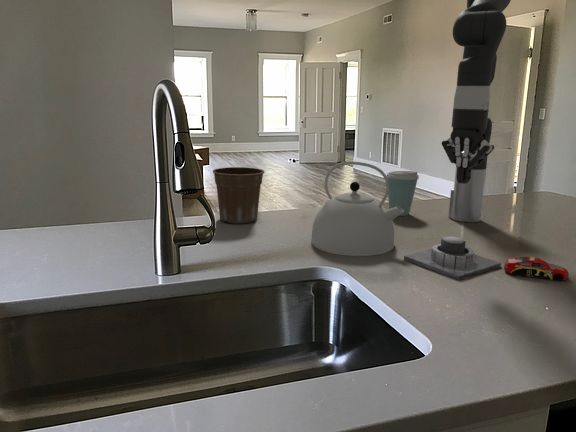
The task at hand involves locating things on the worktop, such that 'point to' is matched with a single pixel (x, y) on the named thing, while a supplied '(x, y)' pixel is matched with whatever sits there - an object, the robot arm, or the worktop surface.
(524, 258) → the race car
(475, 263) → the square plate with hole
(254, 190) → the plant pot
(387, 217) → the kettle
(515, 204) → the worktop surface
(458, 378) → the worktop surface
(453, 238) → the cylindrical peg
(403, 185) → the disposable coffee cup
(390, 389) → the worktop surface
